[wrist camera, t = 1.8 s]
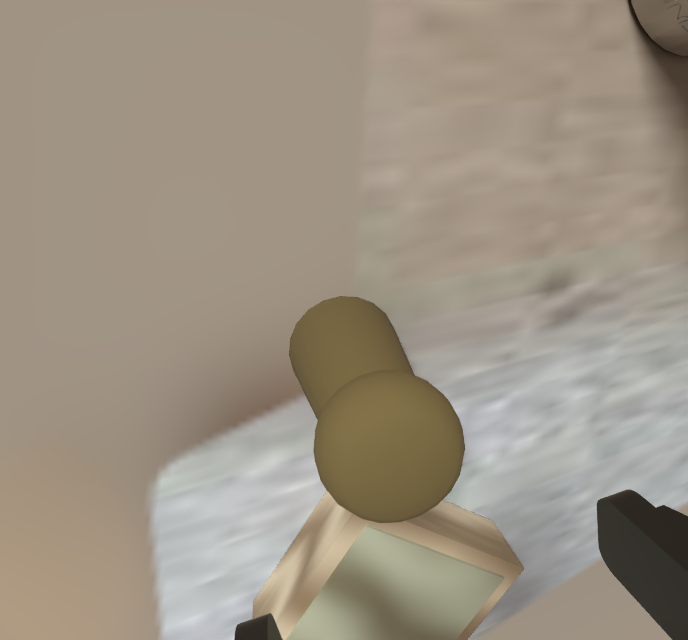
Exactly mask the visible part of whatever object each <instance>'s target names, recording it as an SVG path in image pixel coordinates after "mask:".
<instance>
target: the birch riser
mask: <svg viewBox="0 0 688 640" xmlns="http://www.w3.org/2000/svg"><path fill="white" fill-rule="evenodd" d="M523 570H524V567H523V565H522V564H521V562H520V561H519V559H518V558H517V556H516V555H515V553H514V552H513V551H512V549H511V548H510V546H509V545H508V543H507V542H506V540H505V539H504V537H503V536H502V534H501V533H500V531H499V530H498V528H497V527H496V525H495V524H494V522H493V521H491V520H488V519H486V518H484V517H481V516H479V515H477V514H474V513H472V512H470V511H467V510H465V509H463V508H460V507H458V506H456V505H453V504H451V503H449V502H446V501H444V500H442V501H441V502H440V503H439V504H438V505H437V506H435V507H434V508H432V509H430V510H429V511H427V512H425V513H424V514H422V515H420V516H418V517H415V518H412V519H409V520H406V521H402V522H395V523H377V522H373V521H369V520H365V519H361V518H360V517H358V516H356V515H354V514H353V513H351V512H349V511H348V510H346V509H345V508H343V507H341V506H340V505H338V504H337V502H336V501H335V500H334V499H333V497H332V496H331V495H330V493H329V492H328V491H327V492H326V493H325V495H324V496H323V498H322V499H321V501H320V502H319V504H318V505H317V507H316V508H315V510H314V511H313V513H312V514H311V516H310V517H309V519H308V520H307V522H306V523H305V525H304V526H303V528H302V529H301V531H300V532H299V534H298V535H297V537H296V538H295V540H294V541H293V543H292V544H291V546H290V547H289V549H288V550H287V552H286V553H285V555H284V556H283V558H282V559H281V561H280V562H279V564H278V565H277V567H276V568H275V570H274V571H273V573H272V574H271V576H270V577H269V579H268V580H267V582H266V584H265V585H264V587H263V588H262V590H261V591H260V593H259V594H258V596H257V597H256V599H255V600H254V602H253V619H254V618H257V617H260V616H263V615H266V614H269V613H271V614H272V615H273V617H274V620H275V622H276V625H277V627H278V629H279V632H280V634H281V637H282V639H283V640H467V639H468V638H469V637H470V636H471V634H472V633H473V632H474V631H475V629H476V628H477V627H478V626H479V624H480V623H481V622H482V621H483V619H484V618H485V617H486V616H487V614H488V613H489V612H490V611H491V609H492V608H493V607H494V606H495V604H496V603H497V602H498V601H499V599H500V598H501V597H502V596H503V594H504V593H505V592H506V591H507V589H508V588H509V587H510V586H511V584H512V583H513V582H514V581H515V579H516V578H517V577H518V576H519V575H520V573H521V572H522V571H523Z"/></svg>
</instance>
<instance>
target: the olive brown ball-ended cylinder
mask: <svg viewBox="0 0 688 640" xmlns="http://www.w3.org/2000/svg"><path fill="white" fill-rule="evenodd" d="M289 356H290V360H291V363H292V367H293V370H294V372H295V375H296V377H297V379H298V380H299V383H300V385H301V387H302V389H303V391H304V393H305V395H306V397H307V399H308V401H309V403H310V405H311V407H312V409H313V411H314V413H315V415H316V418H317V420H318V422H317V426H316V430H315V441H314V456H315V462H316V466H317V469H318V472H319V476H320V479H321V481H322V483H323V485H324V486H325V488H326V490H327V491H328V492H329V493H330V495H331V496H332V497H333V499H334V500H335V501H336V502H337V504H338V505H340V506H341V507H343V508H345V509H346V510H348V511H349V512H351V513H353V514H354V515H356V516H358V517H360V518H361V519H365V520H369V521H373V522H377V523H395V522H402V521H406V520H409V519H412V518H415V517H418V516H420V515H422V514H424V513H425V512H427V511H429V510H430V509H432V508H434V507H435V506H437V505H438V504H439V503H440V502H441V501H442V500H443V499H444V498H445V497H446V496H447V495H448V494H449V493H450V491H451V490H452V488H453V486H454V484H455V482H456V481H457V479H458V477H459V475H460V471H461V466H462V461H463V456H464V451H465V444H464V437H463V430H462V426H461V423H460V420H459V418H458V416H457V414H456V412H455V411H454V409H453V407H452V405H451V404H450V402H449V401H448V399H447V398H446V397H445V396H444V395H443V394H442V393H441V392H440V391H439V390H437V389H436V388H435V387H434V386H432V385H431V384H430V383H429V382H428V381H426V380H424V379H422V378H420V377H417V376H415V375H414V373H413V371H412V368H411V366H410V364H409V361H408V359H407V357H406V355H405V352H404V350H403V348H402V346H401V343H400V341H399V339H398V337H397V334H396V332H395V330H394V327H393V326H392V324H391V322H390V321H389V319H388V317H387V315H386V314H385V313H384V312H383V311H382V310H381V309H379V308H378V307H377V306H376V305H375V304H374V303H371V302H369V301H366V300H364V299H361V298H358V297H345V296H344V297H343V296H340V297H336V298H332V299H328V300H324V301H322V302H320V303H319V304H317V305H316V306H314V307H312V308H311V309H310V310H308V311H307V312H306V313H305V315H303V317H302V318H301V319H300V320H299V321H298V322H297V324H296V326H295V329H294V331H293V334H292V336H291V338H290V351H289Z"/></svg>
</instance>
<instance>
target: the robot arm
mask: <svg viewBox="0 0 688 640" xmlns="http://www.w3.org/2000/svg"><path fill="white" fill-rule="evenodd" d="M631 2H632V6H633V8H634V10H635V13H636V15H637V17H638V20H639V22H640V24H641V26H642V27H643V28H644V30H645V31H646V32H647V34H648V35H649V36H650V38H651V39H652V40H653V41H655V42H656V43H657V44H658V45H660V46H661V47H662V48H663V49H665V50H667V51H670V52H672V53H675V54H677V55H680V56H688V0H631ZM597 520H598V543H599V550H600V553H601V555H602V558H603V560H604V562H605V563H606V565H607V566H608V568H609V569H610V571H611V572H612V573H613V575H614V576H615V577H616V578H617V579H618V580H619V581H620V582H621V583H622V585H623V586H624V587H625V588H626V589H627V590H628V591H629V592H630V593H631V595H632V596H633V597H634V598H635V599H636V600H637V601H638V602H639V603H640V604H641V606H642V607H643V608H644V609H645V610H646V611H647V612H648V613H649V614H650V615H651V617H652V618H653V619H654V620H655V621H656V622H657V623H658V624H659V625H660V626H661V628H662V629H663V630H664V631H665V632H666V633H667V634H668V635H669V636H670V637H671V638H672V640H688V516H686V515H684V514H682V513H680V512H678V511H675V510H673V509H671V508H669V507H667V506H665V505H662V506H660V507H657V508H655V507H654V506H653V505H652V504H650V503H649V502H648V501H647V500H646V499H644V498H643V497H642V496H641V495H639V494H638V493H636V492H635V491H632V490H625V491H622V492H619V493H616V494H613V495H610V496H608V497H605V498H602V499H600V500H598V502H597ZM235 640H283V639H282V637H281V634H280V632H279V629H278V627H277V625H276V622H275V620H274V617H273V615H272V614H271V613H269V614H266V615H263V616H260V617H257V618H254V619H252V620H249V621H246V622H243V623H240V624H238V625H237V627H236V631H235Z"/></svg>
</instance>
